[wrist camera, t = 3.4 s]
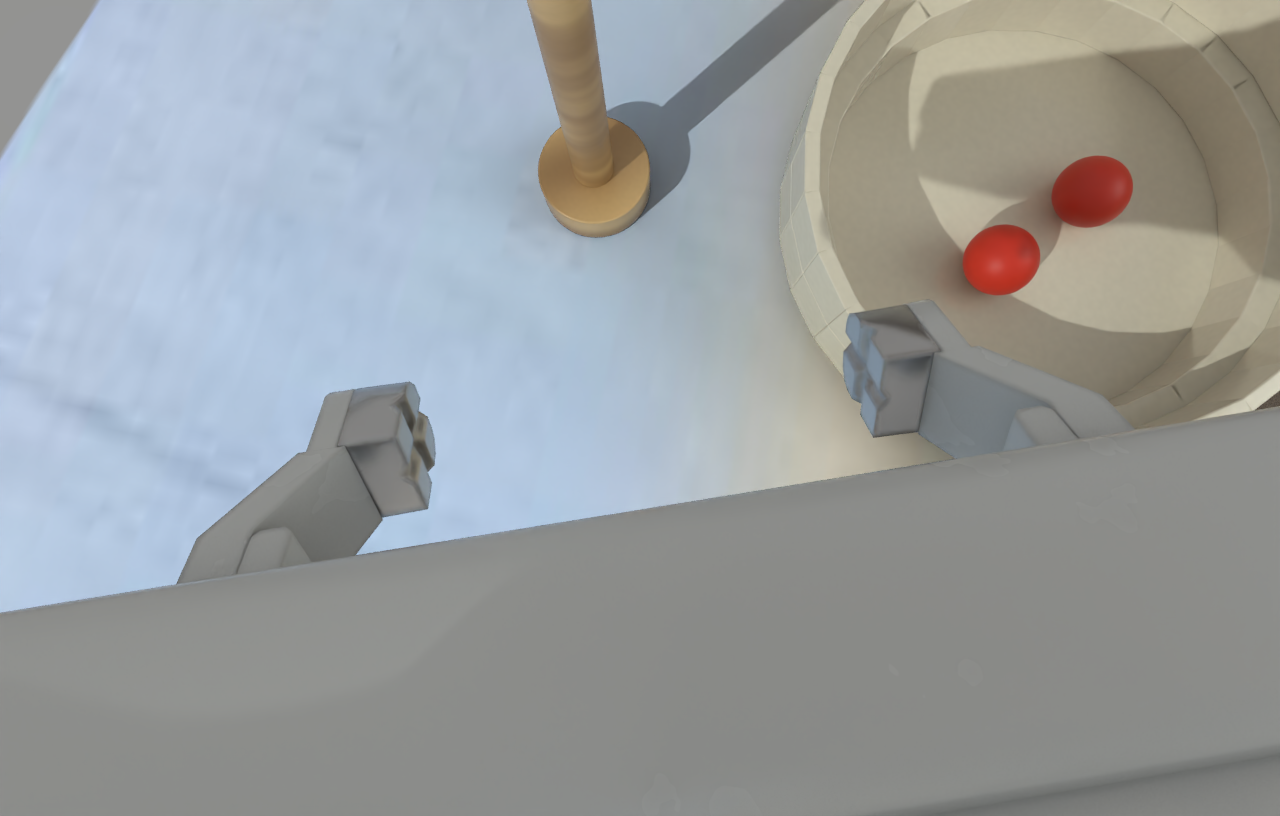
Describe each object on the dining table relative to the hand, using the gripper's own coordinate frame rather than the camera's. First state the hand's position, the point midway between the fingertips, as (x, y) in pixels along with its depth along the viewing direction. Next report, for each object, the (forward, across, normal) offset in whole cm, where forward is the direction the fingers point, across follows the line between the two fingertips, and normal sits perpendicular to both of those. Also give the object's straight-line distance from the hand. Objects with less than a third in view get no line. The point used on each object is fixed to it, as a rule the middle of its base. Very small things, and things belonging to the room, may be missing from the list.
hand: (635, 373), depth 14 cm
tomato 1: (+15, -17, +9) cm, 24 cm away
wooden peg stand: (+22, 0, +6) cm, 23 cm away
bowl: (+18, -18, +9) cm, 27 cm away
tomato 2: (+17, -21, +7) cm, 28 cm away
